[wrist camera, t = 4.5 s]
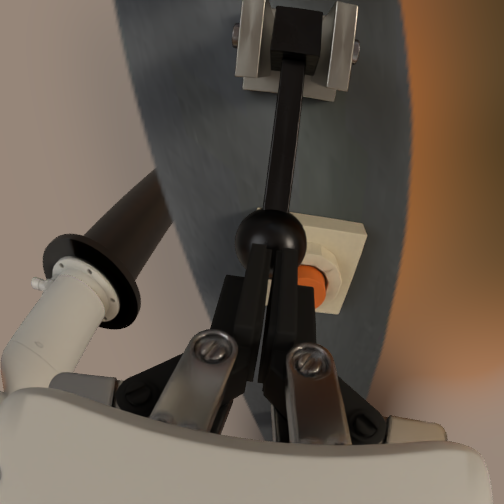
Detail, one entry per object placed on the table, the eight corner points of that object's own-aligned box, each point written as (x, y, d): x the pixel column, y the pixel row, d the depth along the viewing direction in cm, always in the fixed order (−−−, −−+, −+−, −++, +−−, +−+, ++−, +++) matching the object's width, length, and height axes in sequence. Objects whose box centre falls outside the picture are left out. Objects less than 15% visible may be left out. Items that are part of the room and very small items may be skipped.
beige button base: (248, 289, 33) (243, 315, 29) (257, 207, 27) (252, 229, 24) (336, 300, 32) (339, 327, 29) (362, 223, 26) (371, 246, 23)
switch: (298, 274, 15) (304, 293, 12) (235, 265, 15) (225, 282, 12) (325, 40, 13) (335, 9, 10) (267, 32, 13) (265, -1, 10)
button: (277, 295, 28) (276, 309, 26) (284, 262, 26) (283, 274, 24) (318, 301, 28) (319, 314, 26) (329, 268, 25) (330, 281, 24)
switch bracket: (332, 100, 21) (364, 123, 12) (244, 89, 21) (210, 102, 12) (342, 21, 17) (382, -12, 8) (252, 9, 17) (223, -33, 8)
